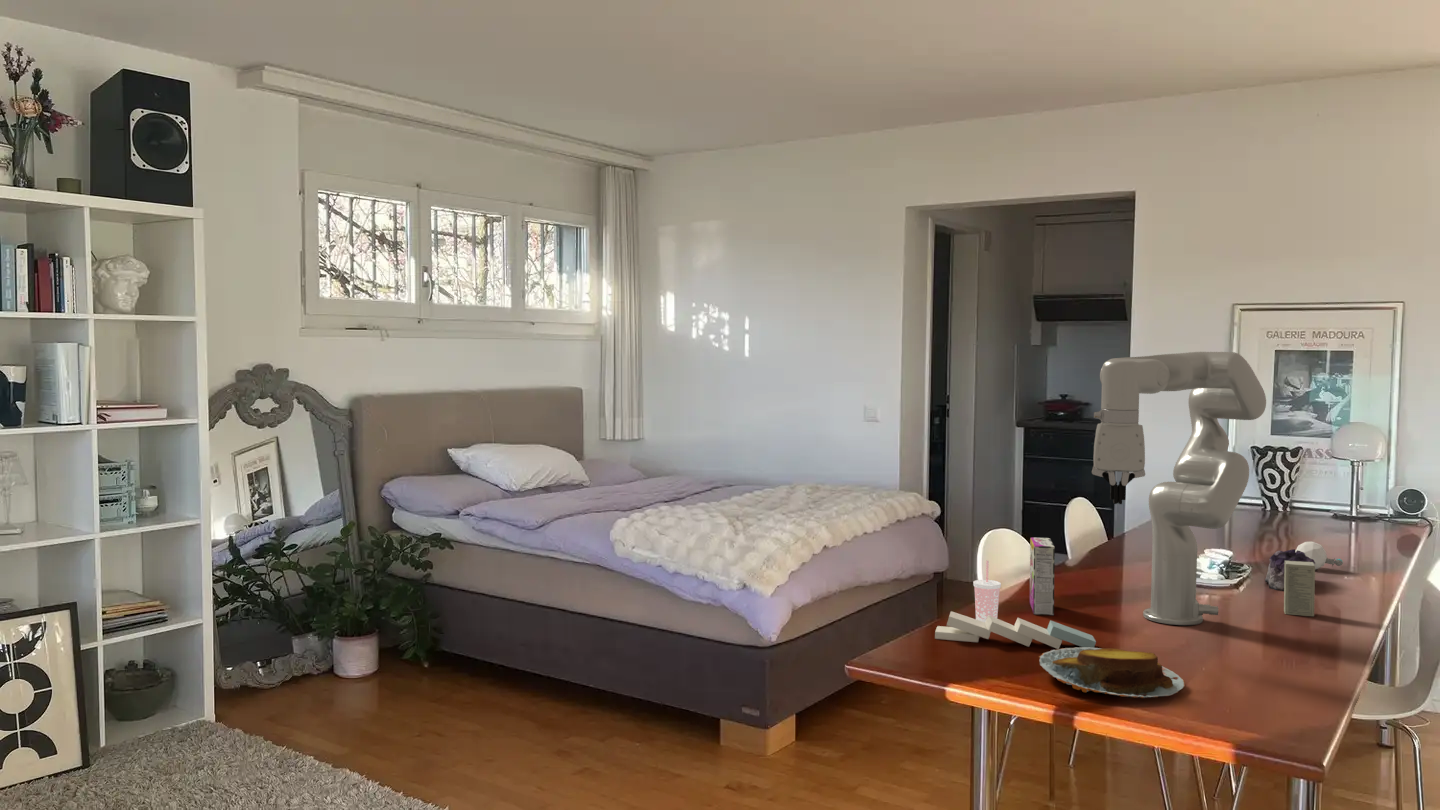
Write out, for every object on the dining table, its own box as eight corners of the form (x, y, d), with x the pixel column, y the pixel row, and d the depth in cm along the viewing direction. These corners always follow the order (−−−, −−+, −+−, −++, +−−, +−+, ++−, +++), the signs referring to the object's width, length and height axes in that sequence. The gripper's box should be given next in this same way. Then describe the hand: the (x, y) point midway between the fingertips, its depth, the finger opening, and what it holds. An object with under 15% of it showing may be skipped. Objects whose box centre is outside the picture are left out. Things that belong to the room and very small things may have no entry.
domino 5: (1092, 635, 223) (1050, 620, 224) (1096, 641, 218) (1053, 626, 219) (1088, 644, 223) (1047, 628, 224) (1092, 650, 218) (1049, 635, 220)
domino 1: (979, 629, 229) (937, 625, 232) (978, 635, 224) (935, 631, 227) (979, 638, 229) (937, 634, 232) (978, 644, 224) (934, 640, 227)
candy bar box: (1028, 603, 258) (1029, 536, 257) (1049, 604, 257) (1051, 537, 256) (1032, 615, 247) (1033, 545, 246) (1054, 616, 246) (1056, 546, 245)
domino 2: (991, 624, 228) (950, 611, 230) (991, 630, 223) (949, 616, 225) (989, 633, 228) (948, 619, 230) (988, 639, 223) (946, 625, 225)
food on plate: (1115, 657, 215) (1116, 624, 215) (1216, 696, 192) (1217, 659, 191) (1009, 670, 206) (1010, 636, 205) (1101, 713, 182) (1103, 675, 182)
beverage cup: (985, 626, 237) (986, 564, 236) (966, 620, 242) (967, 559, 242) (1006, 623, 240) (1007, 561, 239) (987, 616, 245) (988, 557, 244)
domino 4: (1058, 633, 224) (1017, 617, 225) (1062, 640, 219) (1020, 623, 220) (1054, 642, 224) (1014, 626, 225) (1058, 649, 219) (1017, 632, 220)
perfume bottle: (1293, 551, 305) (1340, 560, 300) (1290, 572, 300) (1339, 582, 295) (1297, 532, 301) (1346, 541, 295) (1295, 553, 295) (1344, 563, 290)
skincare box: (1312, 613, 250) (1314, 562, 249) (1314, 617, 246) (1316, 565, 245) (1282, 610, 252) (1284, 559, 252) (1283, 614, 248) (1285, 563, 248)
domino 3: (1027, 631, 226) (988, 615, 226) (1032, 638, 221) (992, 621, 221) (1024, 639, 226) (984, 623, 226) (1029, 646, 221) (988, 630, 221)
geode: (1311, 595, 268) (1306, 556, 268) (1261, 595, 275) (1256, 557, 275) (1320, 578, 285) (1316, 541, 284) (1272, 578, 291) (1268, 542, 291)
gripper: (1083, 418, 224) (1081, 504, 225) (1159, 419, 220) (1157, 507, 221) (1081, 416, 232) (1080, 499, 233) (1155, 417, 227) (1153, 502, 228)
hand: (1117, 503), depth 227 cm, fingers closed
